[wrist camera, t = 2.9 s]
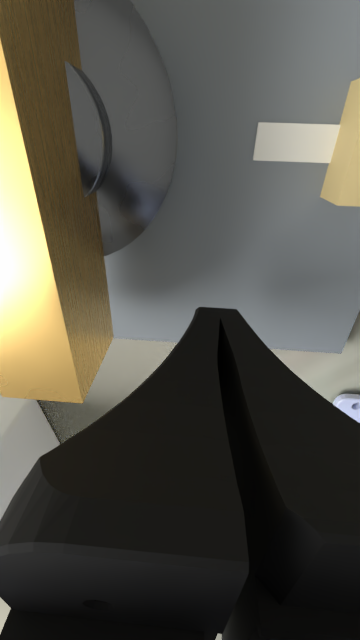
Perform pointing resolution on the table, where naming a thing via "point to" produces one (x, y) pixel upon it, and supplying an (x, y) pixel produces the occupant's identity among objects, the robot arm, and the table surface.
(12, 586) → the robot arm
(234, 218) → the base
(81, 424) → the table surface
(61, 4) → the long golden bar
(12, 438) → the medicine bottle
